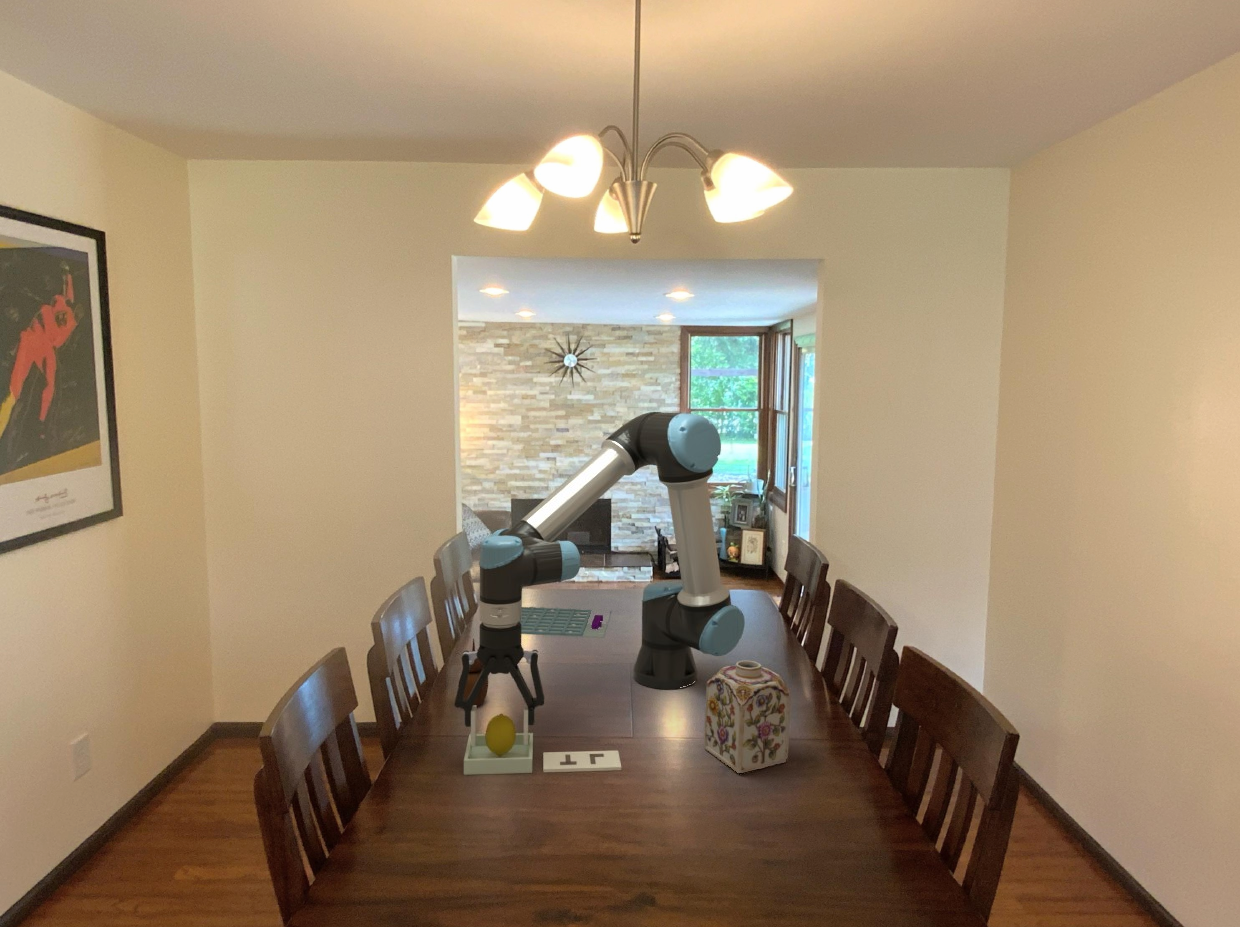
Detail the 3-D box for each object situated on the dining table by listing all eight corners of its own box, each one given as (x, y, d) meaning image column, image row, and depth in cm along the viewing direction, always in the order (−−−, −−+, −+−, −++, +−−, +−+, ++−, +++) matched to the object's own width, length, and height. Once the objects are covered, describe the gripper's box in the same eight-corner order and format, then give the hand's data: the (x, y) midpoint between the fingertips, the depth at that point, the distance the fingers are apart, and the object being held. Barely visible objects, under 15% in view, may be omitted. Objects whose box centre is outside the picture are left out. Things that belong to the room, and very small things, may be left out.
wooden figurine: (480, 711, 164) (480, 642, 162) (454, 708, 165) (454, 639, 163) (491, 698, 170) (492, 632, 169) (467, 696, 171) (467, 630, 170)
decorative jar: (737, 776, 138) (741, 679, 137) (701, 749, 149) (704, 658, 147) (790, 763, 144) (794, 669, 142) (752, 737, 154) (755, 649, 152)
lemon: (486, 748, 145) (487, 707, 144) (515, 749, 146) (517, 708, 145) (483, 763, 140) (484, 720, 139) (514, 763, 140) (515, 720, 139)
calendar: (521, 608, 243) (521, 600, 243) (612, 611, 241) (612, 604, 240) (501, 635, 216) (501, 627, 216) (603, 640, 214) (603, 631, 213)
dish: (532, 745, 148) (532, 732, 148) (532, 772, 138) (532, 758, 138) (469, 747, 147) (469, 734, 147) (463, 774, 137) (463, 760, 137)
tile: (617, 753, 146) (617, 749, 146) (621, 770, 140) (621, 766, 140) (543, 755, 145) (543, 751, 144) (543, 772, 138) (543, 768, 138)
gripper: (437, 629, 135) (437, 753, 137) (560, 628, 137) (559, 749, 140) (442, 616, 143) (442, 734, 145) (559, 615, 145) (558, 731, 147)
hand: (499, 741), depth 142 cm, fingers open, 9 cm apart
